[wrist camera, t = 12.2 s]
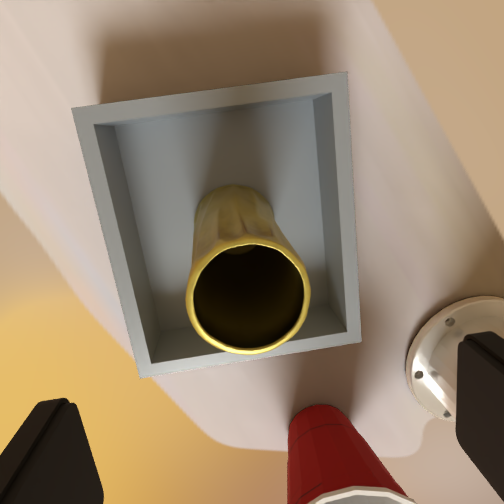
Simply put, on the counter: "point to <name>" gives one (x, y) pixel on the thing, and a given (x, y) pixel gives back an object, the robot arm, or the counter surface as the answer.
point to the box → (208, 179)
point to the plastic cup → (335, 463)
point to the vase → (244, 275)
